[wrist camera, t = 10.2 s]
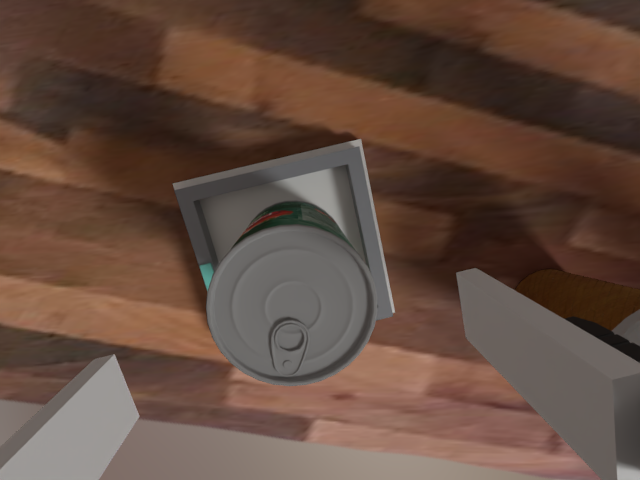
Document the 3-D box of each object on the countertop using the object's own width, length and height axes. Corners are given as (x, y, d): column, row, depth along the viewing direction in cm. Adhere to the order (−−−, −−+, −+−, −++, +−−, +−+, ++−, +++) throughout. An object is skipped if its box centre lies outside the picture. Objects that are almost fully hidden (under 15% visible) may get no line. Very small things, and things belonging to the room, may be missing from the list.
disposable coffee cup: (468, 304, 29) (582, 397, 18) (556, 227, 28) (738, 270, 17) (532, 373, 31) (673, 497, 20) (616, 302, 30) (817, 389, 19)
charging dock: (358, 139, 26) (365, 136, 23) (392, 308, 29) (401, 321, 27) (176, 183, 26) (163, 184, 23) (229, 348, 29) (223, 365, 26)
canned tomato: (245, 194, 25) (208, 215, 15) (350, 205, 26) (389, 232, 15) (239, 296, 27) (201, 382, 16) (338, 303, 28) (366, 390, 17)
